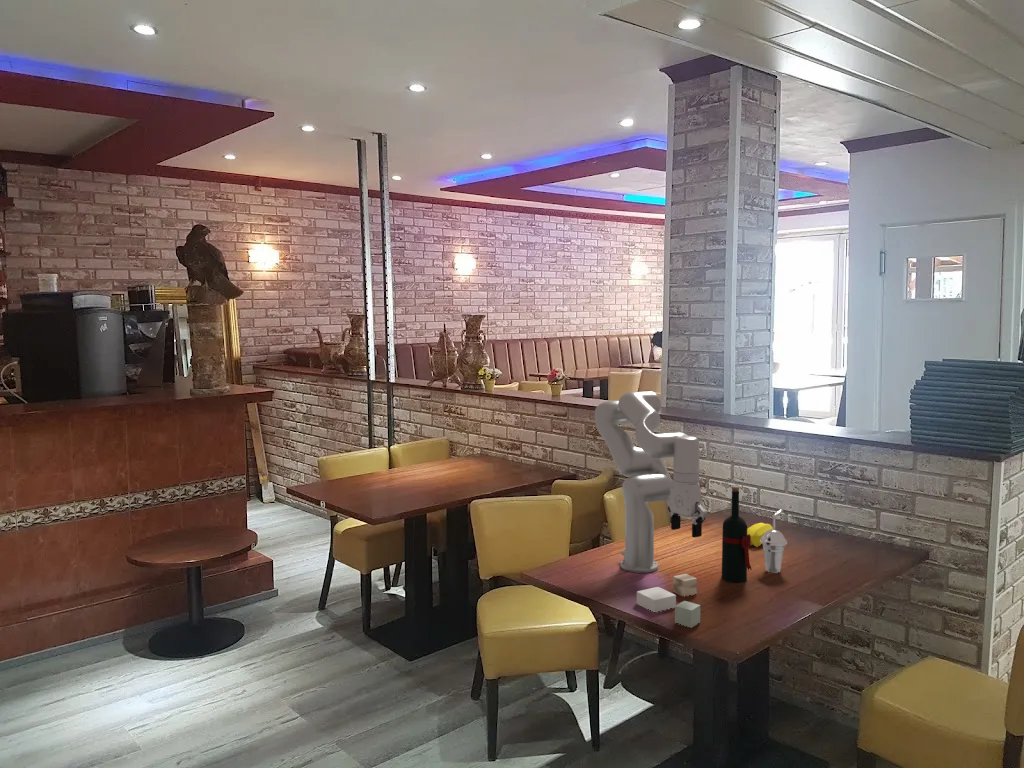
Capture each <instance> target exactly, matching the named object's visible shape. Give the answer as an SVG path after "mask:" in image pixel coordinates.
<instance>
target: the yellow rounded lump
mask: <svg viewBox="0 0 1024 768" xmlns="http://www.w3.org/2000/svg"><path fill="white" fill-rule="evenodd" d="M768 530H773V525H771V524H770V523H764V522H759V523H757V522H756V523H754V524H753V525H751V526H749V527H747V535H749V534H750V536H751V543H750V546H749V547H752V546H754V547H756V548H758V547H757V546H759V547H761V544H762V543H761V542H760V540H761V538H762V537H763V535H764V533H765V532H766V531H768ZM762 545H763V544H762Z"/></svg>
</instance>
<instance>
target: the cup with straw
mask: <svg viewBox="0 0 1024 768" xmlns="http://www.w3.org/2000/svg"><path fill="white" fill-rule="evenodd" d="M783 512H784V509H783V508H781V509H779V510H778V511H777V512H776V513H774V514H773V515H772V527H773V530H768V531H766V532H765V533H764V535H763V537H762V538H761V540H760V542H761V543H762V549H763V554H764V567H765V572H767V571H768V573H770V572H771V573H770V574H779V573H781V568H782V564H783V563H782V562H783V555H784V550H785V547H786V546H787V544H788V541H787V539H786V538H785V536H784V535H783V533H782V532H781V531H779V530H777V529H776V517H777V515H779V514H781V513H783ZM778 572H779V573H778Z"/></svg>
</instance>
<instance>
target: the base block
mask: <svg viewBox="0 0 1024 768" xmlns="http://www.w3.org/2000/svg"><path fill="white" fill-rule="evenodd" d="M636 605H638V606H641V608H644V609H646V610H648V609H649V610H648V611H650V610H651V611H650V612H652V611H653V612H656V613H659V612H658V611H660V612H662V611H661V610H664V611H667V610H666V609H668V610H671V609H670V608H672V609H675V606H676V605H677V595H676V593H675V594H674V593H673V592H671V591H668V590H666V589H664V588H661V587H659V586H655V587H651V588H646V589H641V590H638V591H637V590H636ZM653 612H652V613H653Z"/></svg>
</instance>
